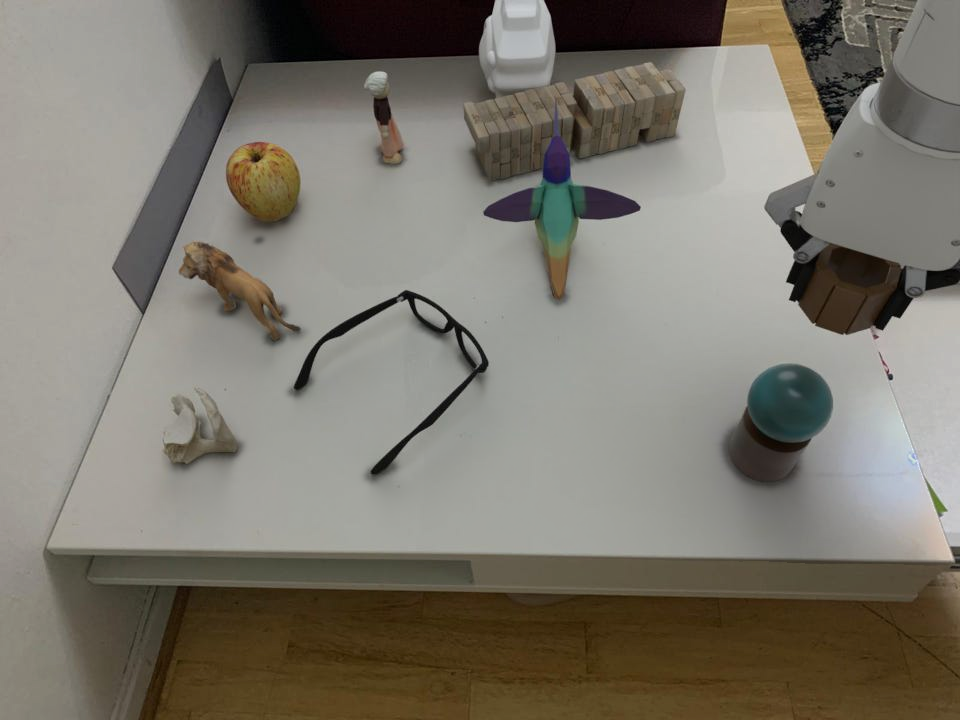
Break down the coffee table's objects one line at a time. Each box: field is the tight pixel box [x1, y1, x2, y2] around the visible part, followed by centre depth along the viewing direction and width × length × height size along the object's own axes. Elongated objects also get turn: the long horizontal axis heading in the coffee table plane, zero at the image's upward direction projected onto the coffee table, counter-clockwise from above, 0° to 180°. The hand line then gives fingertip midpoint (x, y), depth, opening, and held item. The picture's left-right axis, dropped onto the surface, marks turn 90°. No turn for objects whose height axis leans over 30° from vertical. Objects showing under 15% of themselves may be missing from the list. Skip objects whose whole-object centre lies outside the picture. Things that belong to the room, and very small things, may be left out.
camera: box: [478, 0, 556, 98], centre depth 104 cm, size 11×18×16 cm, turn 0°
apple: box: [225, 141, 301, 222], centre depth 94 cm, size 9×9×10 cm
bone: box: [162, 386, 238, 465], centre depth 75 cm, size 9×6×10 cm
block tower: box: [463, 61, 687, 181], centre depth 100 cm, size 8×8×29 cm
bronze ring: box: [797, 243, 903, 336], centre depth 54 cm, size 6×6×4 cm
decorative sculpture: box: [482, 98, 642, 301], centre depth 86 cm, size 17×18×15 cm
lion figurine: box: [178, 241, 302, 341], centre depth 84 cm, size 15×5×9 cm, turn 62°
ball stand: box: [728, 362, 834, 483], centre depth 68 cm, size 7×7×13 cm
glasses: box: [293, 289, 490, 476], centre depth 79 cm, size 17×18×5 cm
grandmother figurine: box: [363, 71, 404, 165], centre depth 99 cm, size 8×4×13 cm, turn 22°
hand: (839, 301), depth 56 cm, fingers closed on bronze ring, 5 cm apart
